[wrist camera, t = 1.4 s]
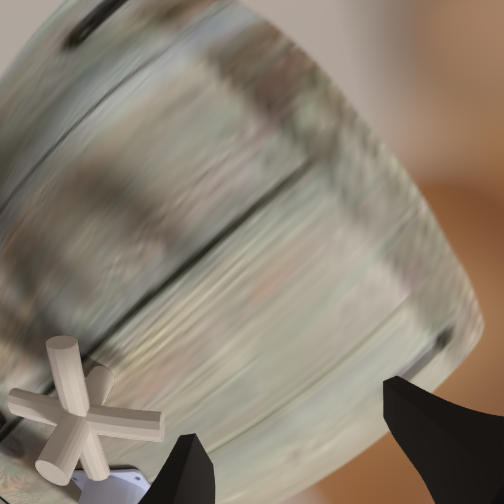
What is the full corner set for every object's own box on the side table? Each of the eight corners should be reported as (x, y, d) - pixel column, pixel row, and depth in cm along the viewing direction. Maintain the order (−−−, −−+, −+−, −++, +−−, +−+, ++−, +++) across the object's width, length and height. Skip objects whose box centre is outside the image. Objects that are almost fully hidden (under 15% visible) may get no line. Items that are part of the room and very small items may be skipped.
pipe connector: (59, 418, 19) (13, 500, 9) (33, 305, 18) (-56, 365, 8) (175, 434, 20) (167, 539, 10) (166, 315, 19) (132, 411, 9)
